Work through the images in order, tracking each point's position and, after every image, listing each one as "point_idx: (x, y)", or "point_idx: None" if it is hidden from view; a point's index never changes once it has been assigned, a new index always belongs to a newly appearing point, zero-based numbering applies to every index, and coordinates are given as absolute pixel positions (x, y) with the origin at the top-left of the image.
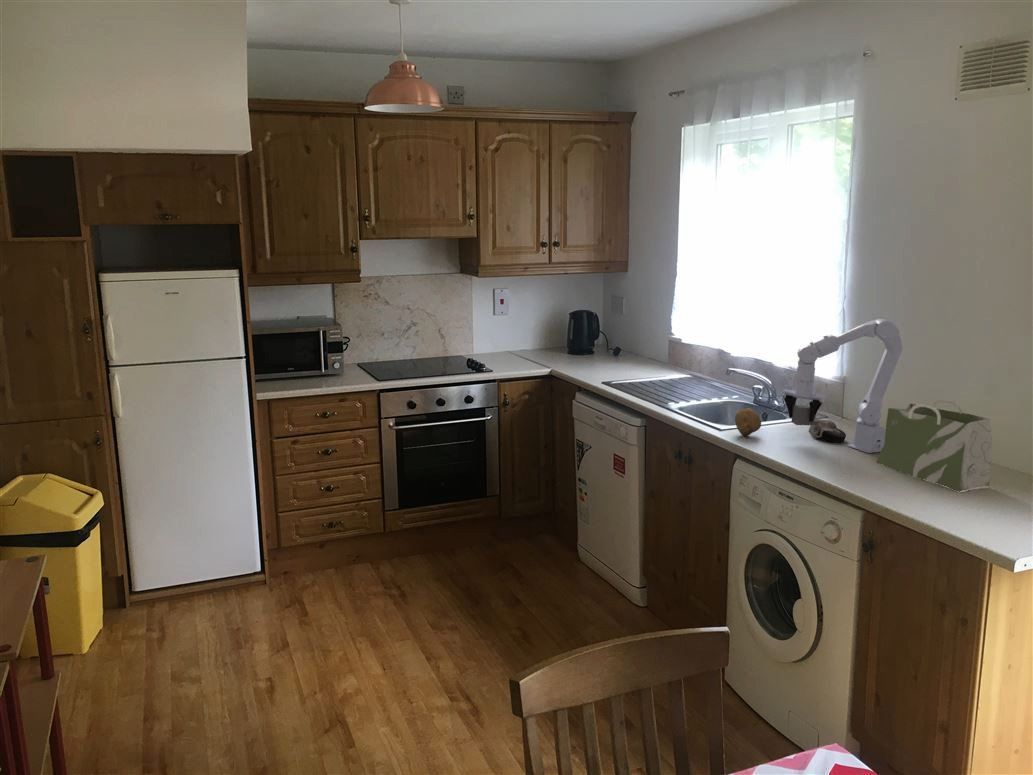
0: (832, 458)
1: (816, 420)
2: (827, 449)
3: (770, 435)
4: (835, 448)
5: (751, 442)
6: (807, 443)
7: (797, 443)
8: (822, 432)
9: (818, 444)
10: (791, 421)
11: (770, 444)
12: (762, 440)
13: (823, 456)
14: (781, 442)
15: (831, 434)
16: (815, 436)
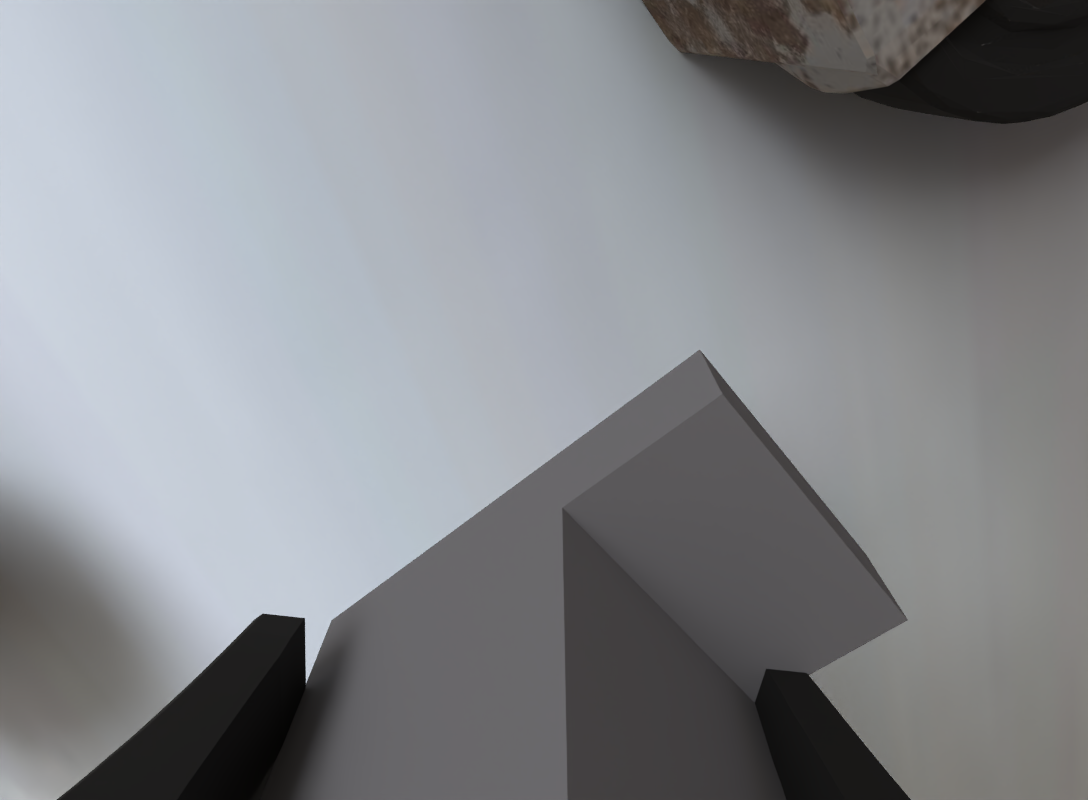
0: (1004, 766)
1: (860, 597)
2: (927, 492)
3: (51, 287)
4: (1027, 382)
5: (123, 717)
6: (635, 374)
7: (527, 457)
8: (843, 89)
9: (781, 327)
10: (331, 629)
11: (306, 675)
12: (148, 585)
13: (911, 754)
14: (353, 534)
15: (1027, 112)
16: (677, 26)
